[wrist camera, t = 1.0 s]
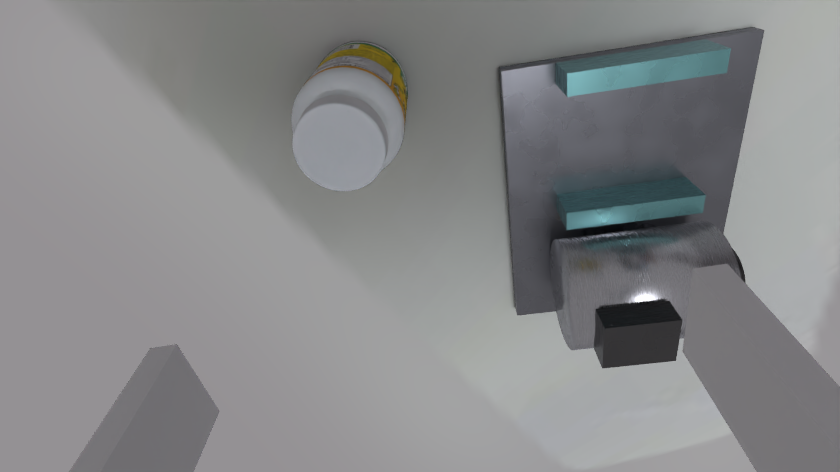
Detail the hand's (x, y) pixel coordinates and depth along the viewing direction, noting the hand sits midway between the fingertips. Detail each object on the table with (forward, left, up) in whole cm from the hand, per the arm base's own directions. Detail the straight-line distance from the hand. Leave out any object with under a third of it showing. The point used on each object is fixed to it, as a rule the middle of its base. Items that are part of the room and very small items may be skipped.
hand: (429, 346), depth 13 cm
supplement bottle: (-2, -3, -20) cm, 20 cm away
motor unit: (+7, +12, -20) cm, 24 cm away
